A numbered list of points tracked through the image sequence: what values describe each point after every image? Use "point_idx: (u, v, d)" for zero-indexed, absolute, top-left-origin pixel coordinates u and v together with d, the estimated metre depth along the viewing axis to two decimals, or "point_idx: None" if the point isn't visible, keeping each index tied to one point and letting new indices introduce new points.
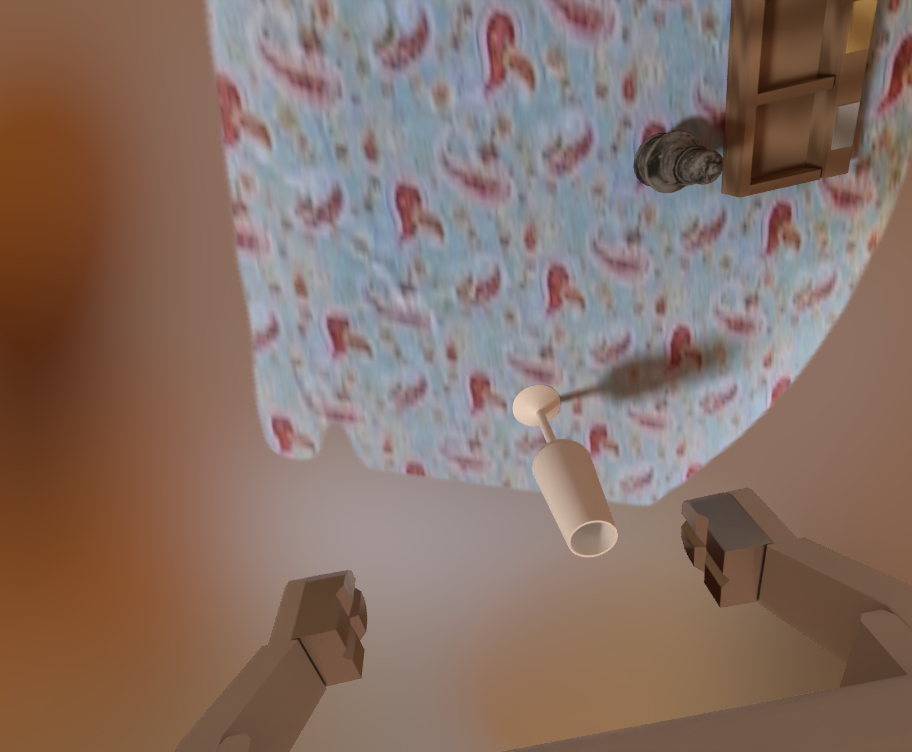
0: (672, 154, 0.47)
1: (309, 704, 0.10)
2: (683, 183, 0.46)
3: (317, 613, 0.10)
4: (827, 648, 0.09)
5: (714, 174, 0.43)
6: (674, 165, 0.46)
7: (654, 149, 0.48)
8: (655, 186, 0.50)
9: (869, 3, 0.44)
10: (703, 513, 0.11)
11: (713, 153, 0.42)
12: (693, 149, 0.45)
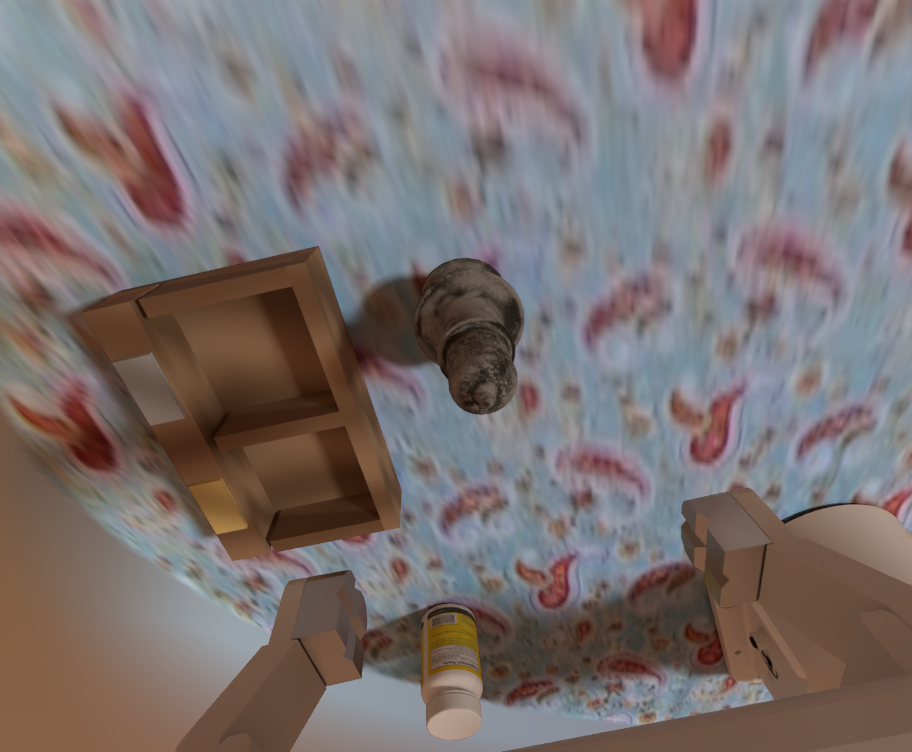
0: None
1: (309, 704, 0.10)
2: (488, 323, 0.21)
3: (317, 613, 0.10)
4: (827, 648, 0.09)
5: (477, 382, 0.19)
6: (512, 352, 0.22)
7: None
8: (498, 282, 0.24)
9: (224, 527, 0.30)
10: (703, 513, 0.11)
11: (482, 414, 0.20)
12: None
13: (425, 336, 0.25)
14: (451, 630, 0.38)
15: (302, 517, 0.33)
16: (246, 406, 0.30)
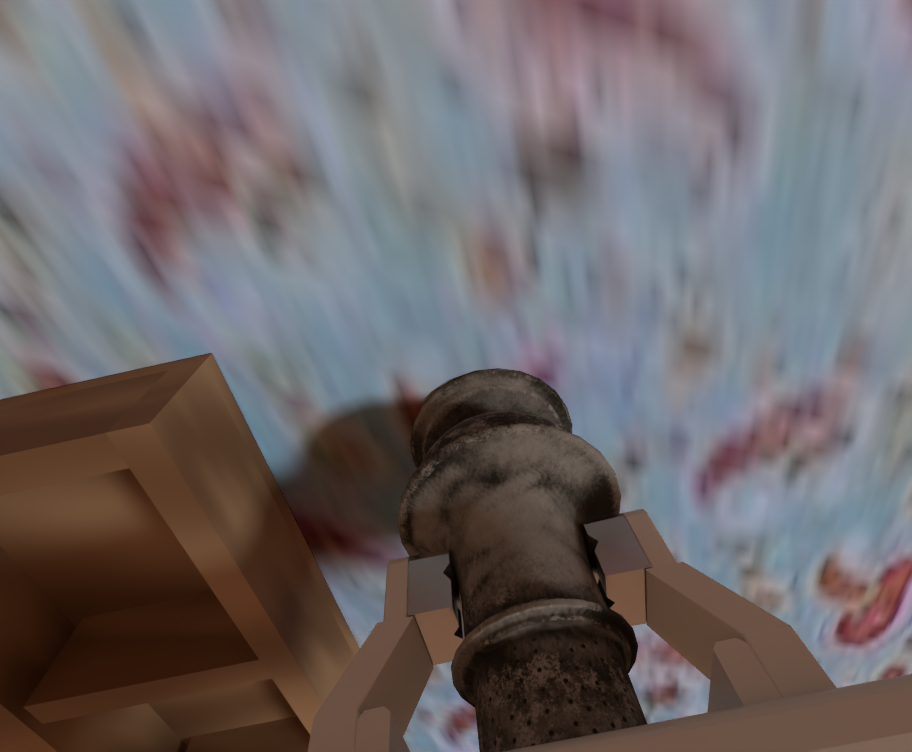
0: None
1: (421, 682, 0.10)
2: (581, 618, 0.08)
3: (428, 591, 0.10)
4: (703, 672, 0.09)
5: None
6: None
7: None
8: (575, 449, 0.12)
9: None
10: (594, 535, 0.11)
11: None
12: None
13: (421, 546, 0.13)
14: None
15: None
16: (108, 611, 0.17)
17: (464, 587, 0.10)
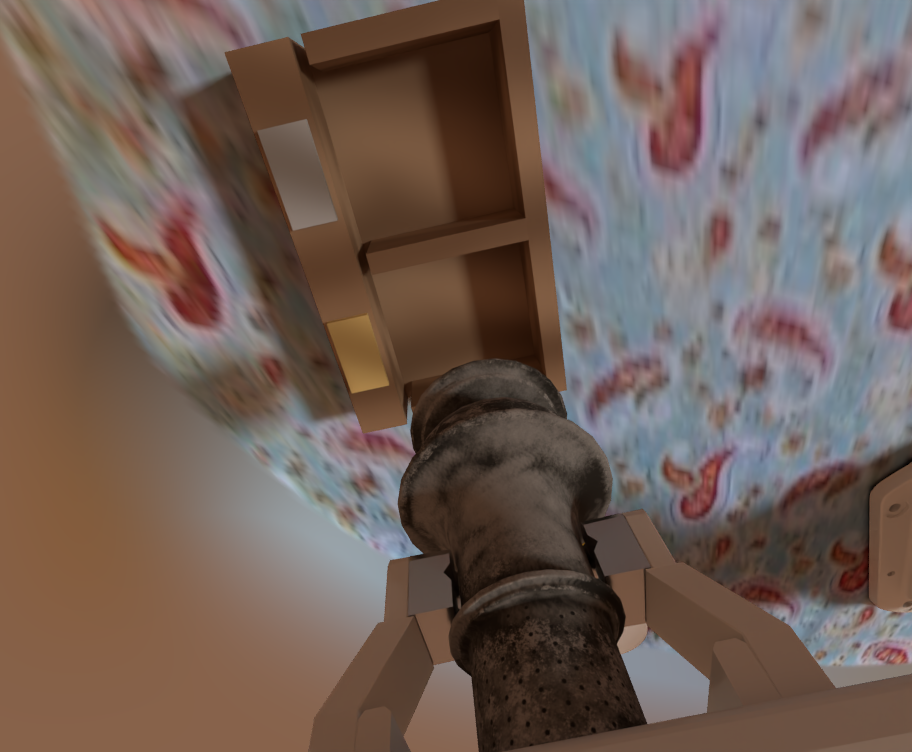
0: None
1: (422, 682, 0.10)
2: (571, 587, 0.09)
3: (429, 591, 0.10)
4: (703, 672, 0.09)
5: None
6: None
7: None
8: (568, 433, 0.12)
9: (362, 384, 0.25)
10: (594, 535, 0.11)
11: None
12: None
13: (420, 528, 0.13)
14: None
15: None
16: (389, 234, 0.25)
17: (461, 563, 0.11)
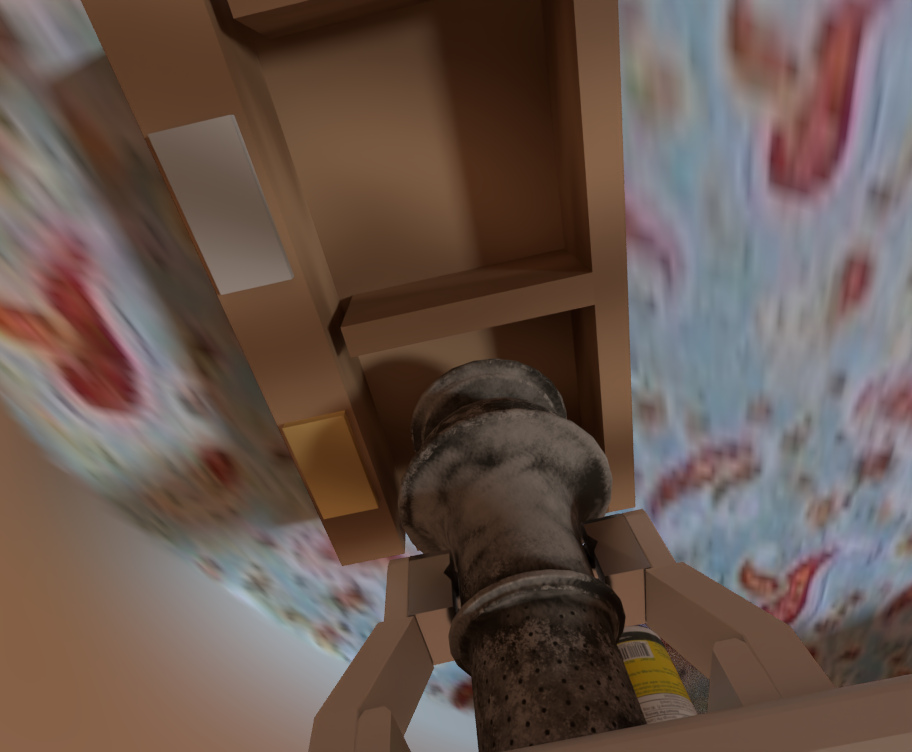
0: None
1: (422, 682, 0.10)
2: (571, 587, 0.09)
3: (429, 590, 0.10)
4: (703, 672, 0.09)
5: None
6: None
7: None
8: (568, 433, 0.12)
9: (338, 507, 0.17)
10: (594, 535, 0.11)
11: None
12: None
13: (420, 528, 0.13)
14: (651, 669, 0.25)
15: None
16: (379, 287, 0.17)
17: (461, 563, 0.11)
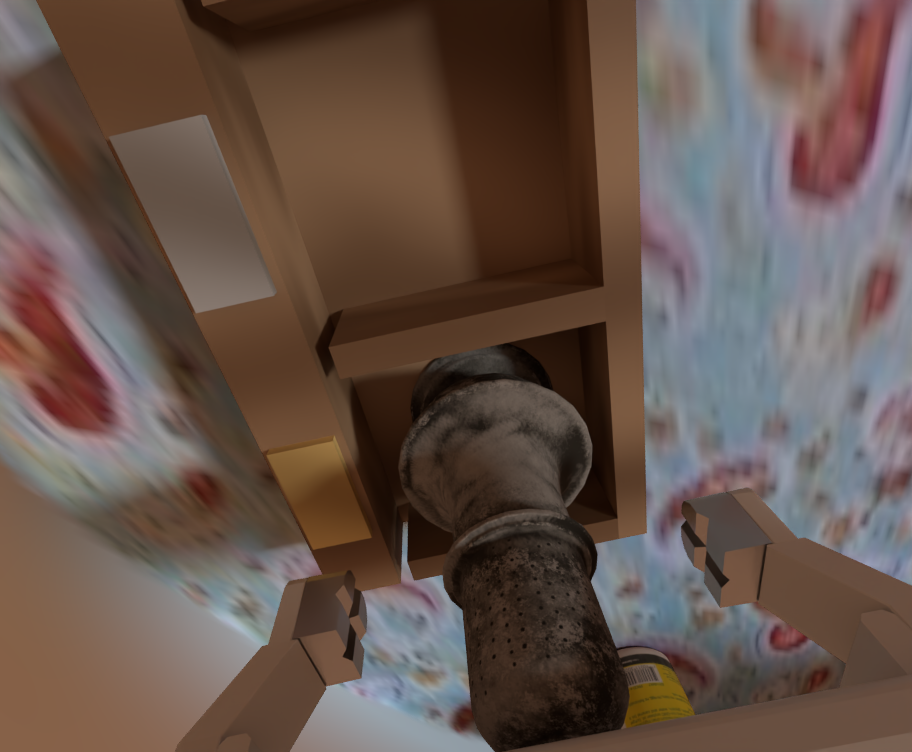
0: None
1: (310, 704, 0.10)
2: (548, 524, 0.10)
3: (317, 613, 0.10)
4: (827, 648, 0.09)
5: (543, 736, 0.08)
6: None
7: (566, 499, 0.15)
8: (550, 402, 0.13)
9: (329, 537, 0.16)
10: (703, 513, 0.11)
11: None
12: None
13: (419, 489, 0.14)
14: (660, 695, 0.24)
15: None
16: (372, 300, 0.15)
17: (454, 513, 0.12)
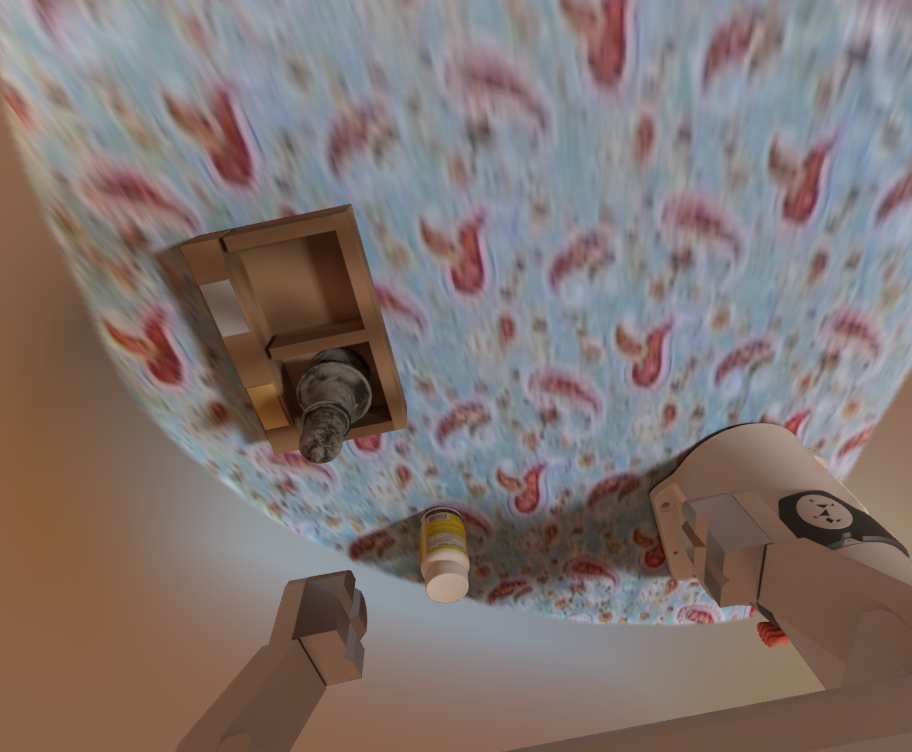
0: None
1: (310, 704, 0.10)
2: (330, 404, 0.34)
3: (317, 613, 0.10)
4: (827, 648, 0.09)
5: (311, 446, 0.31)
6: (350, 420, 0.35)
7: (364, 409, 0.39)
8: (349, 370, 0.37)
9: (271, 424, 0.39)
10: (703, 513, 0.11)
11: (320, 463, 0.33)
12: None
13: (304, 403, 0.38)
14: (445, 524, 0.48)
15: None
16: (289, 330, 0.39)
17: None
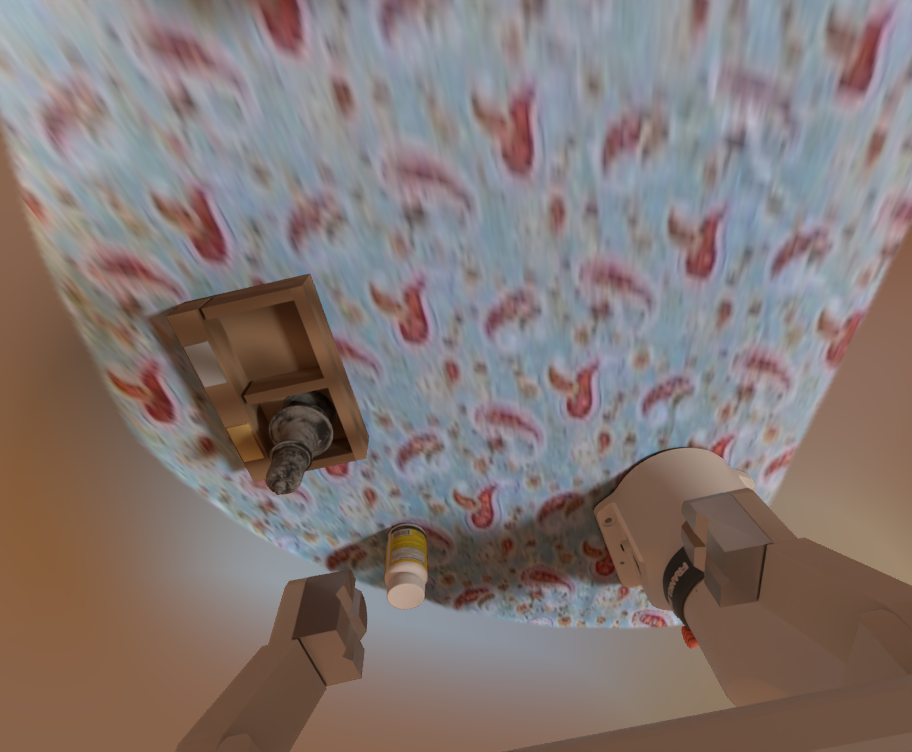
0: None
1: (309, 704, 0.10)
2: (293, 444, 0.41)
3: (317, 613, 0.10)
4: (827, 648, 0.09)
5: (275, 481, 0.38)
6: (311, 456, 0.42)
7: (327, 443, 0.45)
8: (312, 412, 0.44)
9: (249, 457, 0.46)
10: (703, 513, 0.11)
11: None
12: None
13: (276, 440, 0.45)
14: (407, 539, 0.54)
15: None
16: (263, 377, 0.46)
17: None
